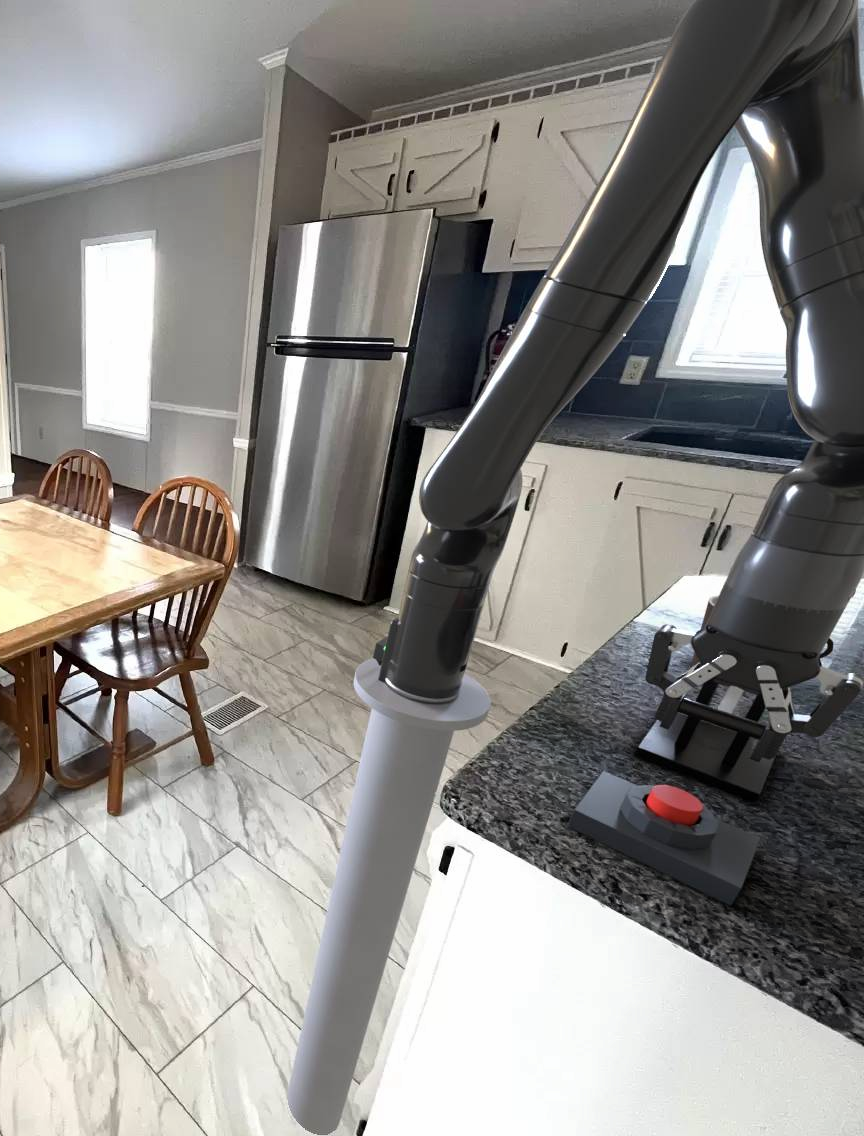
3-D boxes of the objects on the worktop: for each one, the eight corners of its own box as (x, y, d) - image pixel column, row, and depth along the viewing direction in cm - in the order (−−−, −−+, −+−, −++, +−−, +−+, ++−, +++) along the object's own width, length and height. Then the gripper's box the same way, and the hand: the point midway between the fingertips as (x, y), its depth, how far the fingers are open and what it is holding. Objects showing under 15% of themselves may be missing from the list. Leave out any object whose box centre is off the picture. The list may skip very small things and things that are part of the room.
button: (640, 810, 60) (647, 796, 60) (651, 793, 62) (657, 779, 62) (690, 832, 58) (698, 817, 57) (699, 813, 60) (707, 799, 59)
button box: (566, 826, 63) (579, 795, 62) (596, 786, 68) (608, 757, 67) (730, 906, 55) (750, 873, 53) (750, 854, 60) (769, 822, 58)
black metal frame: (755, 803, 66) (814, 700, 60) (633, 755, 73) (676, 659, 67) (774, 755, 72) (829, 659, 67) (661, 715, 79) (702, 625, 74)
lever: (756, 746, 60) (767, 726, 59) (673, 717, 64) (682, 698, 63) (783, 689, 67) (793, 670, 66) (706, 666, 71) (715, 648, 70)
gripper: (668, 576, 60) (609, 722, 67) (909, 630, 49) (808, 796, 56) (688, 557, 64) (630, 696, 71) (915, 603, 53) (820, 761, 60)
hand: (709, 740), depth 63 cm, fingers closed on lever, 6 cm apart
